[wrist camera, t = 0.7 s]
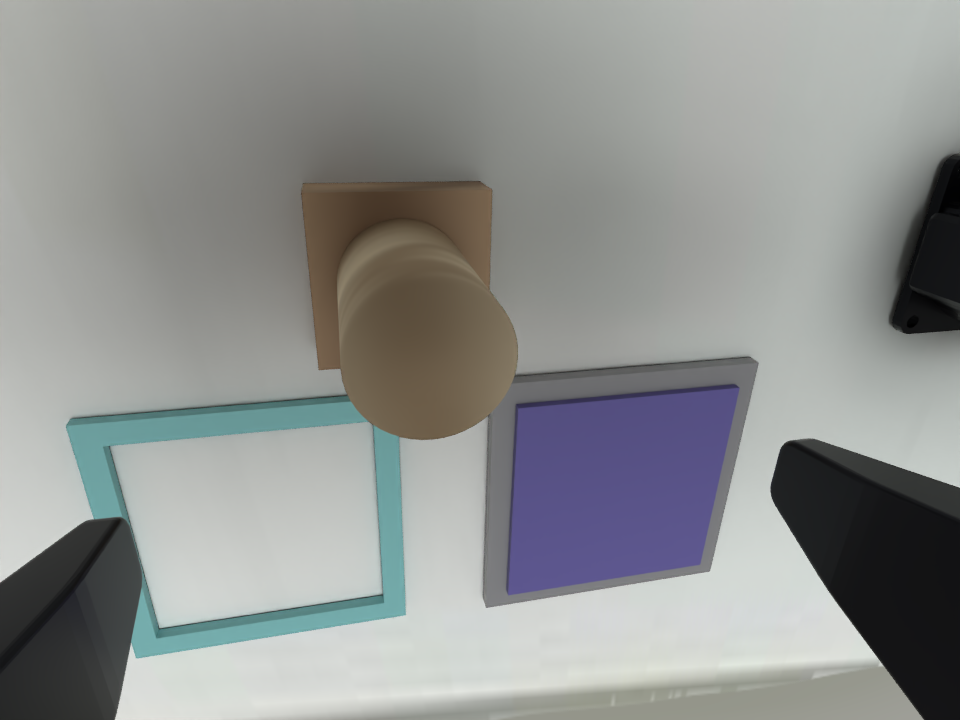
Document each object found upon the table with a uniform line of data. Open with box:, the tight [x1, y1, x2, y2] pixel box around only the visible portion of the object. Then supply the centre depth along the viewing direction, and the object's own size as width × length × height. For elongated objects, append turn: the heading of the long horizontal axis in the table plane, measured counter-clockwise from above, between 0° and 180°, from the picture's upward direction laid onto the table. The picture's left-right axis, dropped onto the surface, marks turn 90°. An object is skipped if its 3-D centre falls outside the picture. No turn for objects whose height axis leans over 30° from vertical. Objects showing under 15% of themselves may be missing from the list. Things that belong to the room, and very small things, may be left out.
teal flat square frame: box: [66, 396, 406, 658], centre depth 21 cm, size 10×10×1 cm
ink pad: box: [483, 357, 758, 608], centre depth 23 cm, size 10×10×1 cm
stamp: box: [301, 181, 518, 440], centre depth 15 cm, size 5×5×7 cm
